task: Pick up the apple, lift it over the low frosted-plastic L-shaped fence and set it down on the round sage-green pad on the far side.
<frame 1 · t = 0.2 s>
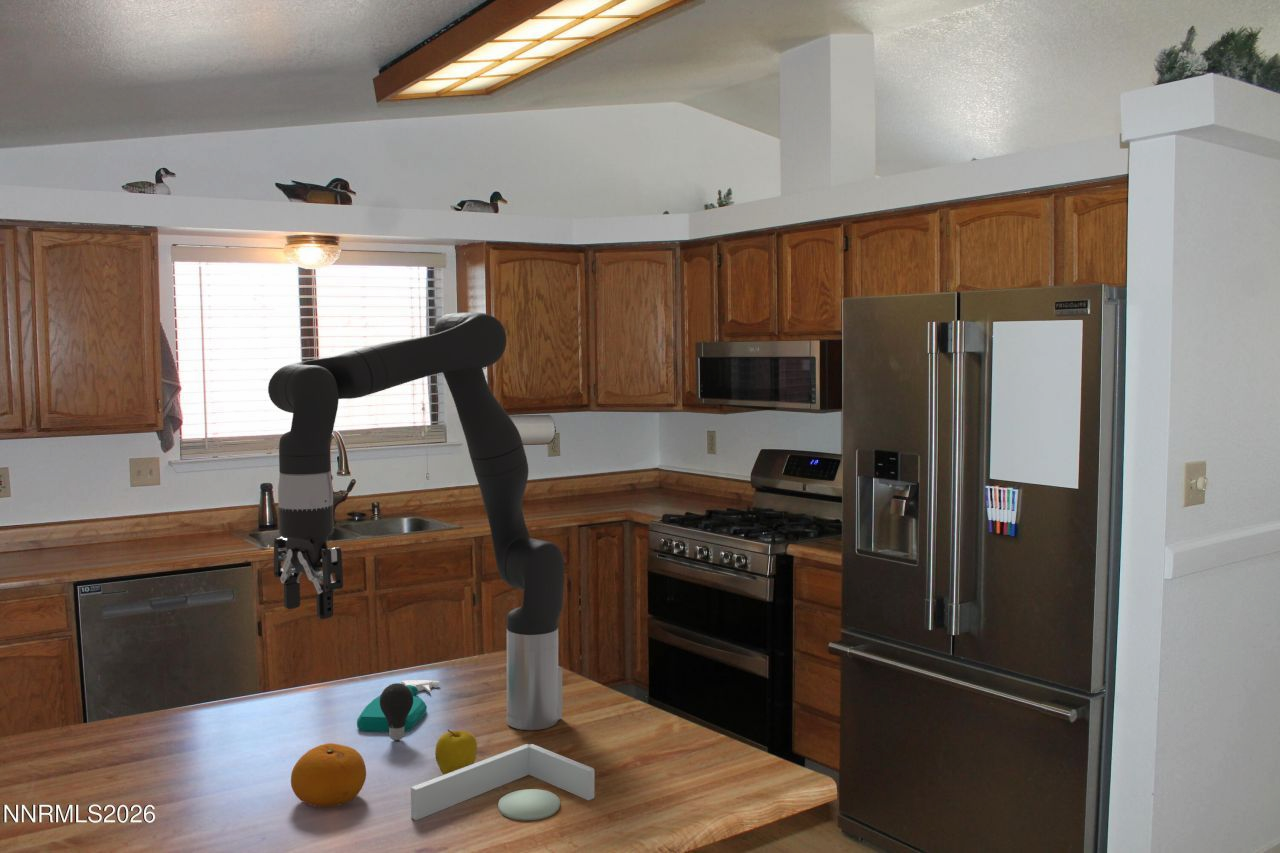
hand: (308, 612, 149), 29 cm above the table, fingers open, 8 cm apart
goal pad: (529, 806, 150), on the table
fruit: (329, 802, 152), on the table
apple: (456, 778, 160), on the table
spray bottle: (402, 710, 190), on the table
light bulb: (396, 742, 174), on the table
fence: (529, 772, 162), on the table
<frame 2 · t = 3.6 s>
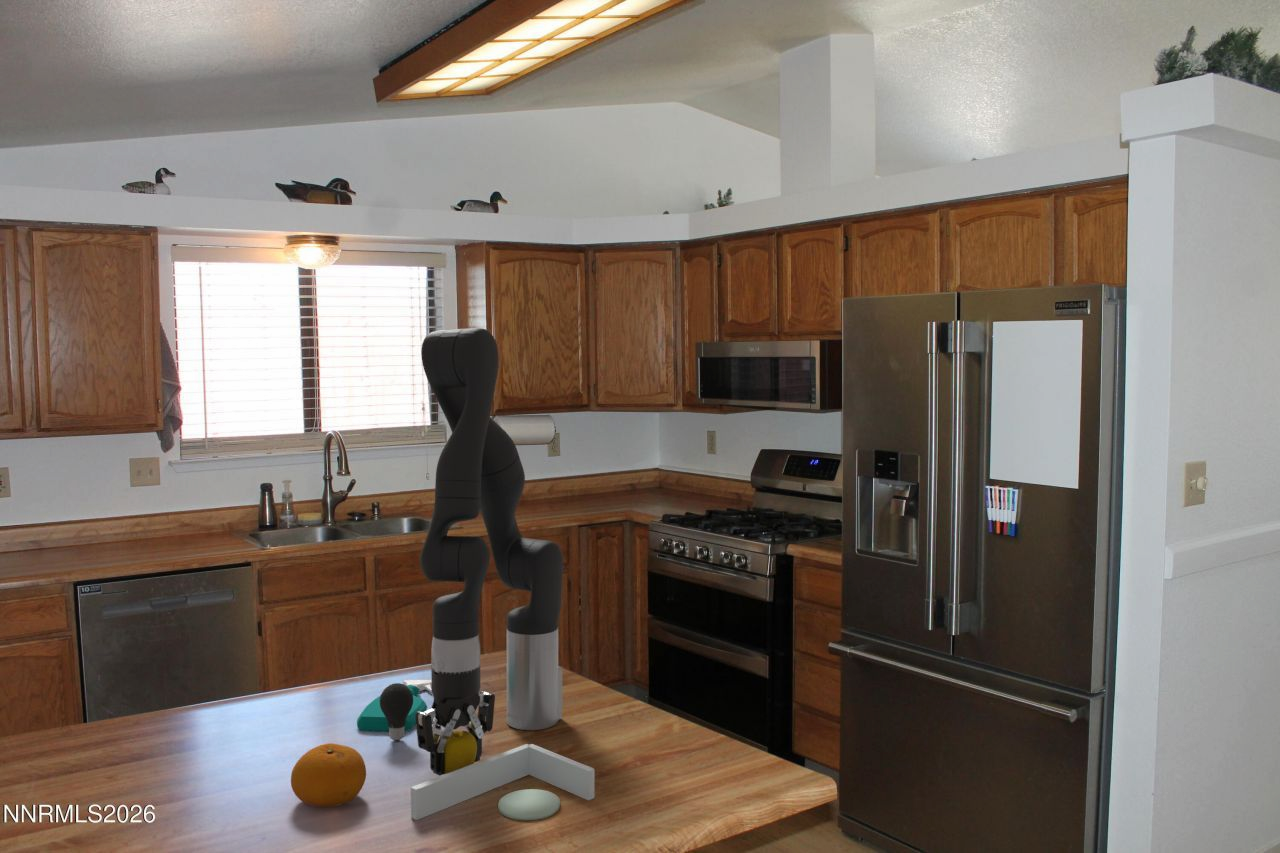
hand: (456, 766, 160), 2 cm above the table, fingers closed on apple, 6 cm apart
apple: (456, 778, 160), on the table, touching gripper
everything else where it was.
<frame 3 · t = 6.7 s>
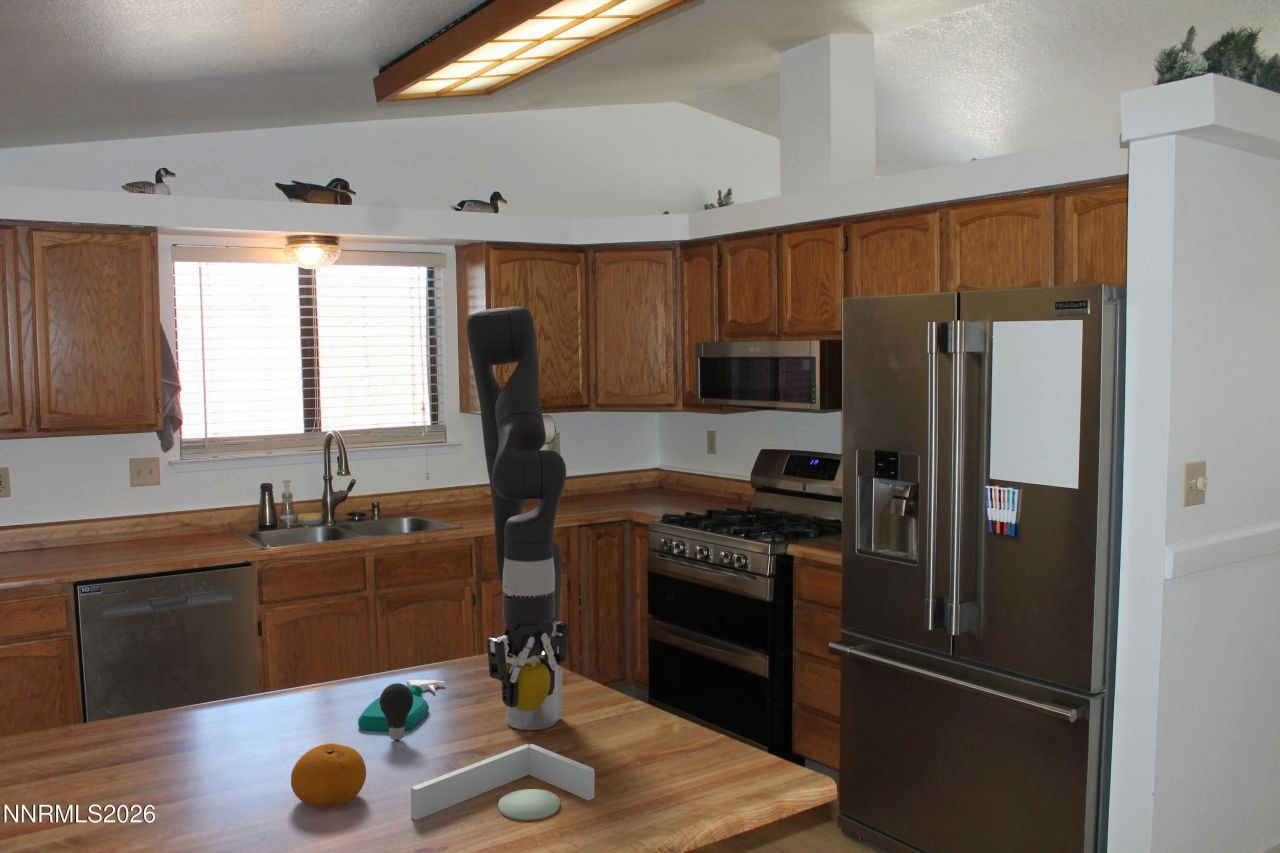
hand: (528, 699, 149), 16 cm above the table, fingers closed on apple, 6 cm apart
apple: (528, 712, 149), point 14 cm above the table, touching gripper
everything else where it was.
when the fingers open (4 cm above the table, at t = 9.7 s): apple drops 2 cm, resting on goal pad.
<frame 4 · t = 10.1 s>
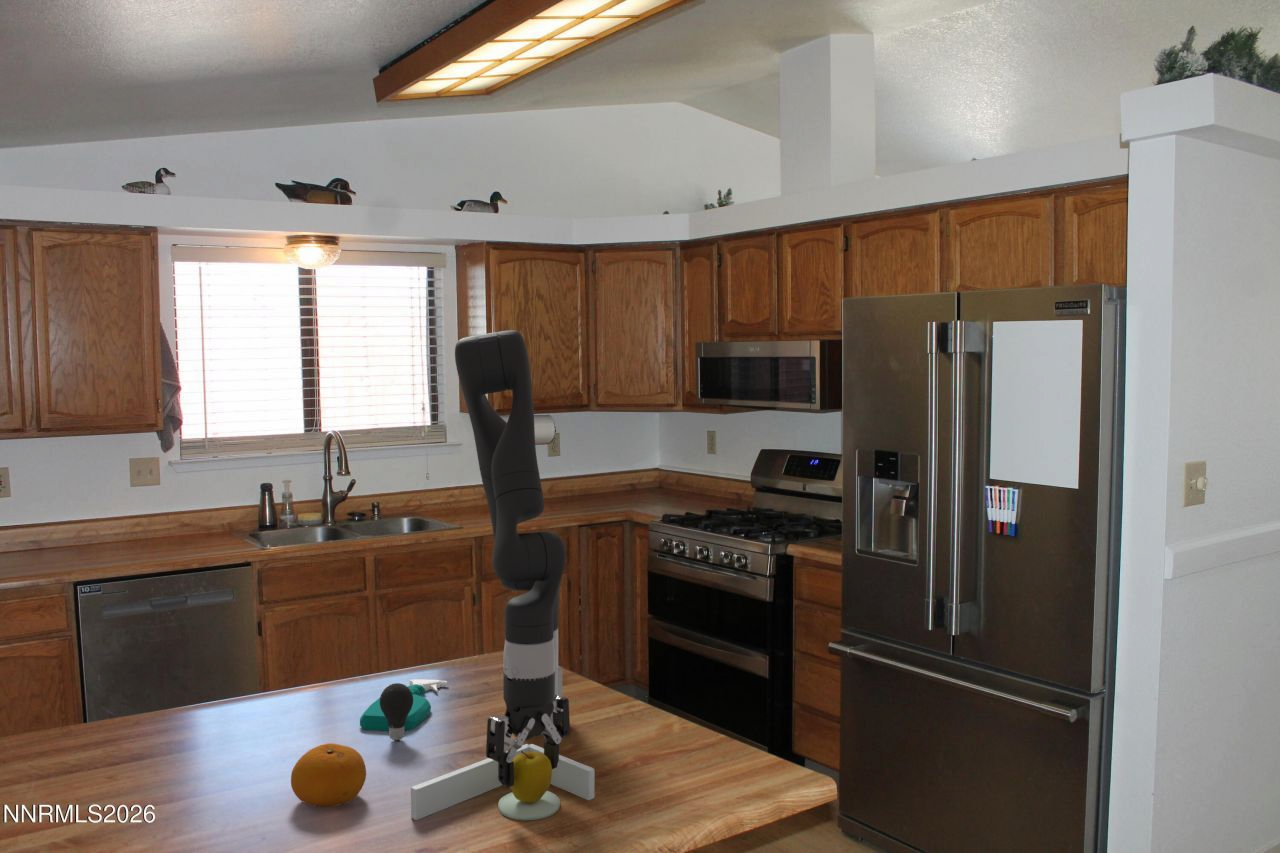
hand: (529, 776, 150), 5 cm above the table, fingers open, 8 cm apart
apple: (529, 802, 150), resting on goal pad
everything else where it was.
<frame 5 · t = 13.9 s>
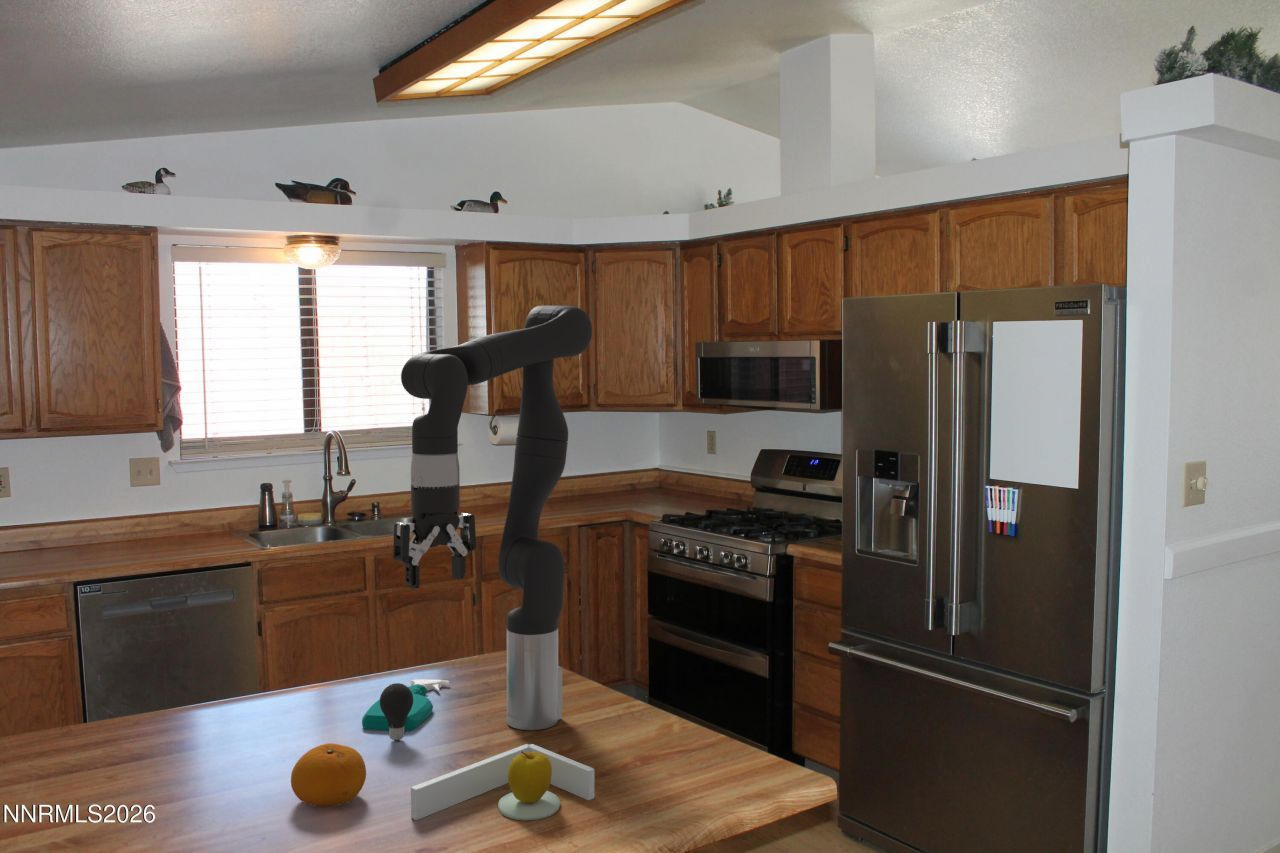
hand: (435, 583, 161), 30 cm above the table, fingers open, 8 cm apart
at the end: apple 0.3 cm from the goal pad (horizontally); apple resting on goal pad; the gripper is holding nothing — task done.
